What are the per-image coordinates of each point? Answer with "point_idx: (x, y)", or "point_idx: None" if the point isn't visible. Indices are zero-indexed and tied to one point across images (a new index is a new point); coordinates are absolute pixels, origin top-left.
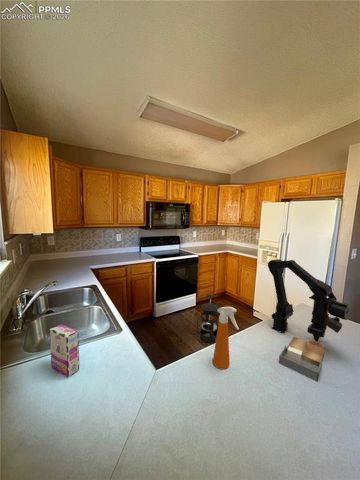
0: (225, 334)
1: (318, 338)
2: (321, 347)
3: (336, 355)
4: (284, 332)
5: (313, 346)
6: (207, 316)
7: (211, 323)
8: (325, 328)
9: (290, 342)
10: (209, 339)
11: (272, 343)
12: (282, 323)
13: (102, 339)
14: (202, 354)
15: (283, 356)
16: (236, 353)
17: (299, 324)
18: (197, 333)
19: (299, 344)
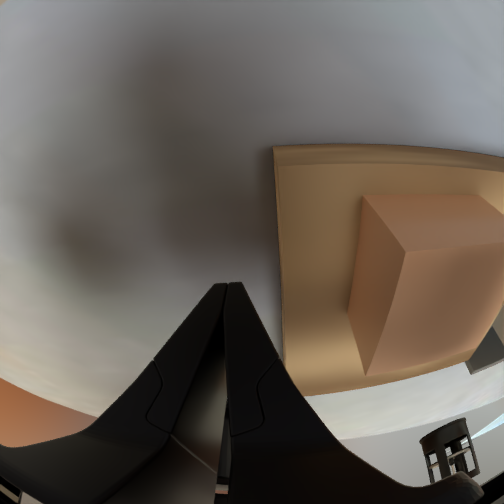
0: None
1: (264, 332)
2: (414, 218)
3: (196, 37)
4: (226, 405)
5: (499, 299)
6: (432, 482)
7: (478, 466)
8: (43, 499)
9: (396, 380)
10: (467, 428)
11: (393, 390)
12: (222, 460)
13: (483, 433)
14: (501, 397)
15: (493, 329)
16: (490, 386)
17: (43, 359)
18: (460, 442)
19: None
